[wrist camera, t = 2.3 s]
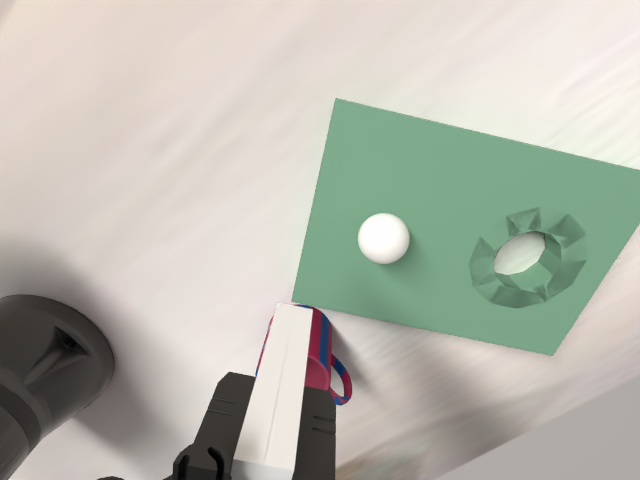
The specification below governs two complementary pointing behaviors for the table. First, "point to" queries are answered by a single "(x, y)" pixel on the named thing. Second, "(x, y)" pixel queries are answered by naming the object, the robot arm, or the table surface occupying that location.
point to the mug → (321, 358)
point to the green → (461, 228)
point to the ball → (383, 238)
